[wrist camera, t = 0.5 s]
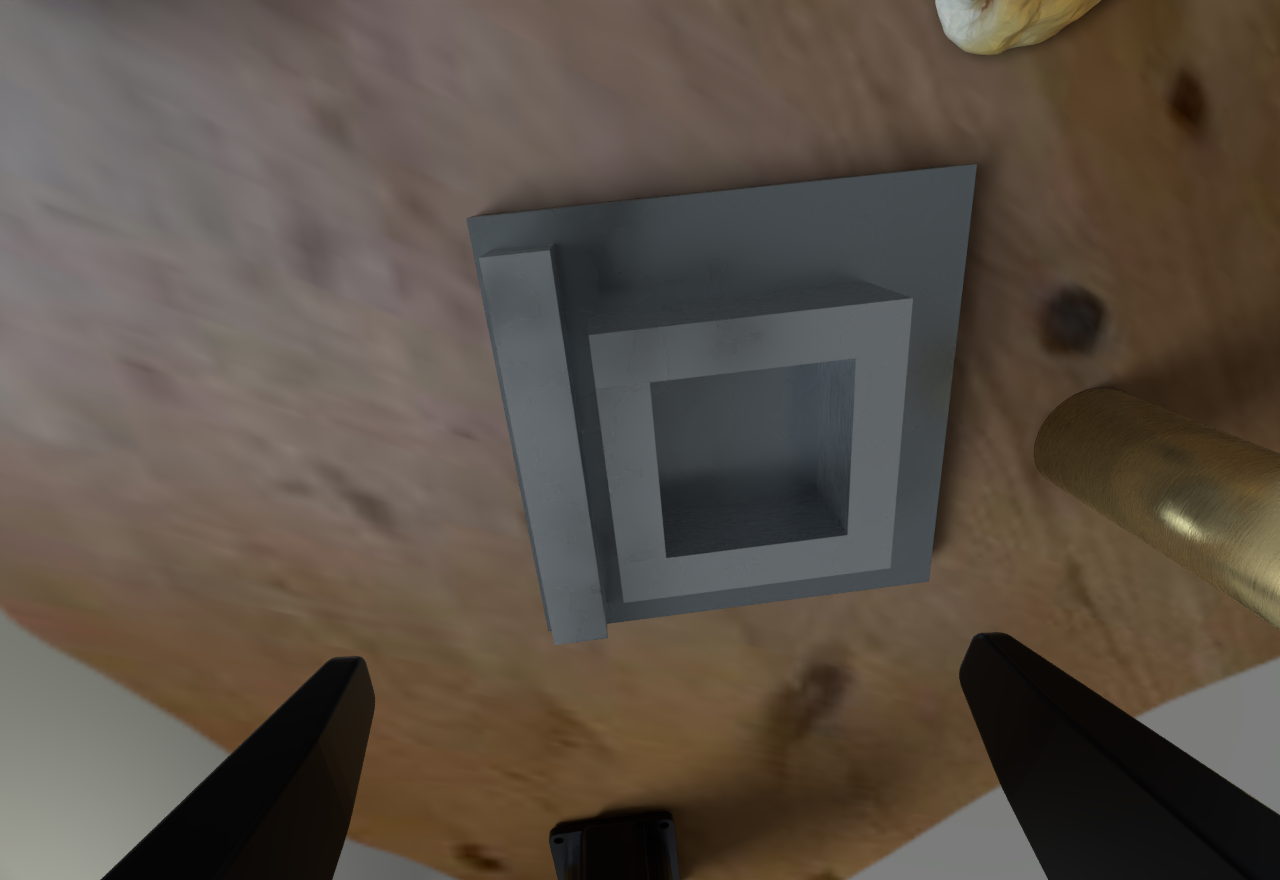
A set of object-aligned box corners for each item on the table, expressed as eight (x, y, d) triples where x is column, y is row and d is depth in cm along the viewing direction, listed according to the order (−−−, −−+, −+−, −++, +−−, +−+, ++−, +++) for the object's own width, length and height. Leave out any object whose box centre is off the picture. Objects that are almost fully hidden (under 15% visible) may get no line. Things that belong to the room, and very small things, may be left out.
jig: (911, 560, 27) (970, 630, 23) (550, 607, 26) (543, 687, 22) (950, 165, 20) (1043, 160, 16) (475, 215, 20) (445, 224, 16)
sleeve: (1125, 479, 26) (1583, 731, 14) (1026, 491, 26) (1404, 757, 14) (1150, 381, 24) (1698, 575, 12) (1043, 394, 24) (1494, 603, 12)
